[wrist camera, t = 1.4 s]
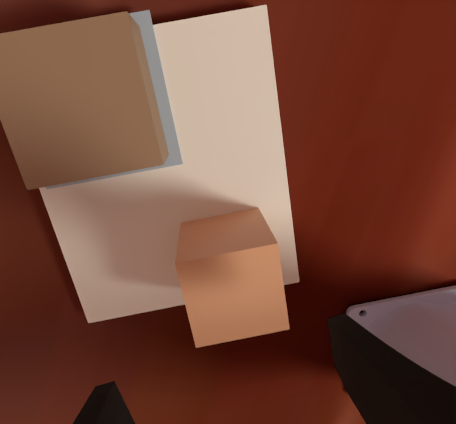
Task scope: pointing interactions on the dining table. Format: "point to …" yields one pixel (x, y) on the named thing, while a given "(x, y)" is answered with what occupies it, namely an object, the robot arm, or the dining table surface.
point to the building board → (205, 187)
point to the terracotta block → (231, 277)
